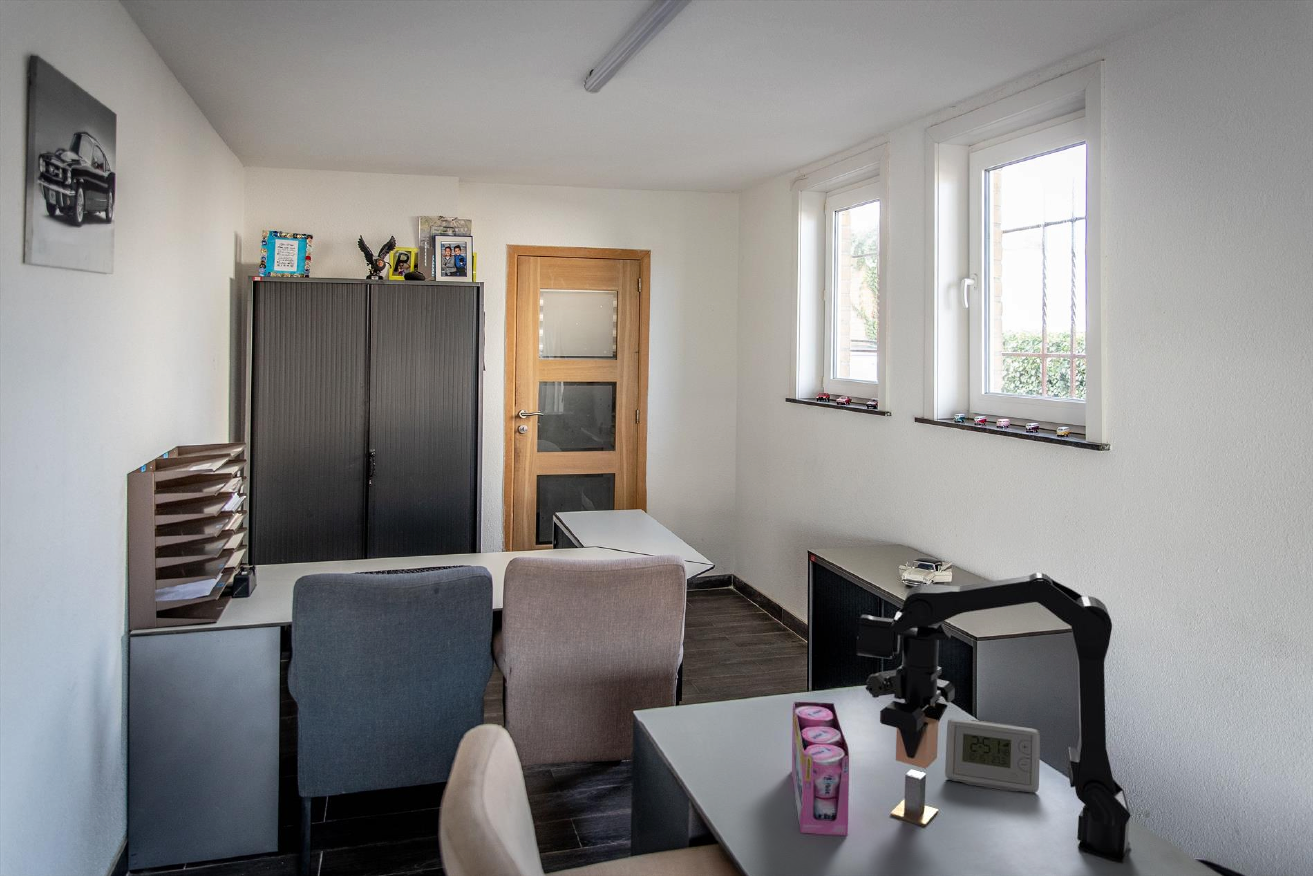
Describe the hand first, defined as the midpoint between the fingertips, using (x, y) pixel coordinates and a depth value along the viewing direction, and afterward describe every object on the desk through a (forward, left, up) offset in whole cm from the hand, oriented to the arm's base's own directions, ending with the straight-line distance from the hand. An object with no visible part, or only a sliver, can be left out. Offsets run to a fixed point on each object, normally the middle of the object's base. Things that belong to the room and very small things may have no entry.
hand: (916, 751), depth 154 cm
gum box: (+15, +6, -11) cm, 20 cm away
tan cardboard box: (0, 0, -1) cm, 1 cm away
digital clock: (-7, -20, -11) cm, 24 cm away
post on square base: (0, 0, -11) cm, 11 cm away
